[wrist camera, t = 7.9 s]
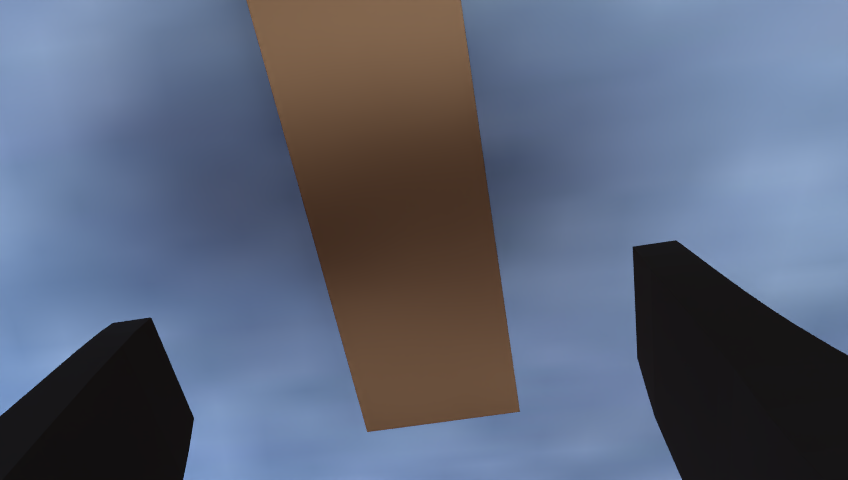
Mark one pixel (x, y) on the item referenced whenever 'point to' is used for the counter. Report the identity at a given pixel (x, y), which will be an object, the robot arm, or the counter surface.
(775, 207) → the counter surface
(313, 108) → the brown rectangular block
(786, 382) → the robot arm
